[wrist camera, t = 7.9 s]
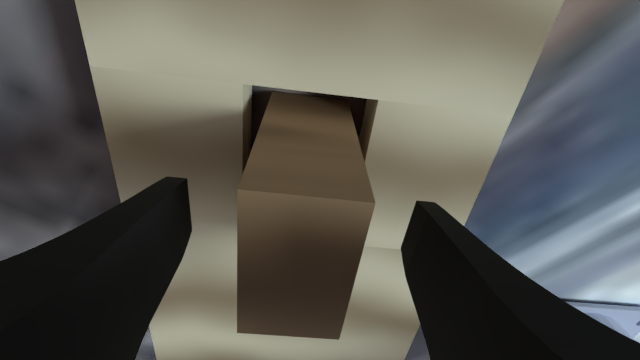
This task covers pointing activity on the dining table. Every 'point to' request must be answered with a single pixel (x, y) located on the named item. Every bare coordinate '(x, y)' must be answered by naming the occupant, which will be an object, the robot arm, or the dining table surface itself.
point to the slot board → (320, 77)
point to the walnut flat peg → (301, 219)
